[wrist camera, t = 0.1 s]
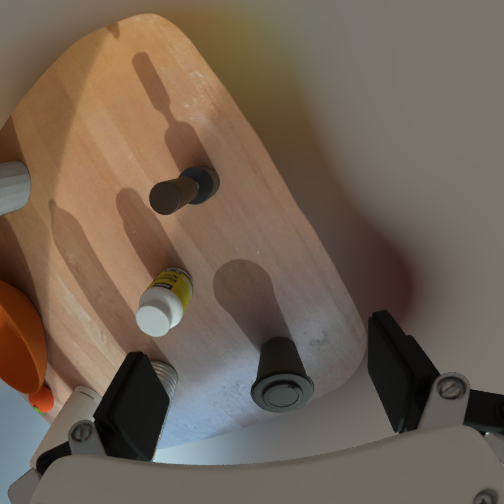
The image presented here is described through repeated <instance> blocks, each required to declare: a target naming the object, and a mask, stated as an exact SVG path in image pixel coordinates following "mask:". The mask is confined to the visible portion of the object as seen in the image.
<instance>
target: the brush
mask: <svg viewBox="0 0 504 504" xmlns="http://www.w3.org/2000/svg"><path fill="white" fill-rule="evenodd" d="M219 185H220V180H219V176H218V174H217V173H216V171H215V170H213V169H212V168H210V167H207V166H198V167H191V168H188V169H186V170H184V171H183V172H182V173H181V174H180V176H179V177H178V178H176V179H171V180H167V181H163V182H160V183H157V184H156V185H155V186H154V187H153V188H152V190H151V192H150V195H149V201H150V204H151V207H152V208H153V209H154V211H156V212H157V213H159V214H161V215H169V214H172V213H174V212H175V211H177V210H178V209H180V208H181V207H183V206H185V205H186V204H188V203H189V204H193V205H197V204H201V203H204V202H205V201H207V200H208V199H209V198H210V197H212V196H213V195H214V194H215V193H216V192H217V190H218V188H219Z"/></svg>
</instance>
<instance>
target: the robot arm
mask: <svg viewBox="0 0 504 504" xmlns="http://www.w3.org/2000/svg"><path fill="white" fill-rule="evenodd" d="M368 372H369V375H370V377H371V379H372V381H373V384H374V386H375V388H376V390H377V393H378V395H379V397H380V400H381V402H382V404H383V407H384V409H385V411H386V414H387V415H388V418H389V421H390V423H391V425H392V428H393V430H394V432H395V433H396V432H399V434H398V435H395V436H391V437H388V438H384V439H381V440H378V441H374V442H371V443H367V444H363V445H360V446H356V447H352V448H347V449H344V450H339V451H335V452H330V453H326V454H320V455H315V456H309V457H303V458H297V459H291V460H283V461H275V462H265V463H253V464H239V465H184V464H166V463H155V462H149V461H151V460H152V458H153V455H154V452H155V449H156V445H157V442H158V439H159V435H160V432H161V429H162V426H163V423H164V420H165V416H166V413H167V410H168V407H169V404H170V398H169V395H168V394H167V392H166V390H165V388H164V387H163V385H162V383H161V381H160V379H159V377H158V376H157V374H156V372H155V370H154V368H153V366H152V364H151V362H150V360H149V358H148V357H147V355H145V354H143V352H129V353H128V354H127V356H126V358H125V360H124V361H123V363H122V365H121V366H120V368H119V370H118V371H117V373H116V375H115V377H114V378H113V380H112V382H111V384H110V385H109V387H108V389H107V391H106V392H105V394H104V396H103V398H102V400H101V401H100V403H99V405H98V407H97V409H96V410H95V412H94V414H93V418H94V419H95V420H94V422H92V421H90V420H81V421H78V422H76V423H75V424H74V425H73V426H72V427H71V428H70V430H69V432H68V441H66V442H64V443H62V444H60V445H58V446H56V447H54V448H52V449H50V450H48V451H46V452H44V453H42V454H41V455H40V456H39V457H38V459H37V461H36V469H35V468H34V467H33V468H31V469H30V470H29V471H28V472H26V473H25V474H24V475H23V476H21V477H20V478H19V479H18V480H17V481H15V482H14V483H13V484H12V485H11V486H10V487H9V489H8V497H9V499H10V501H11V503H12V504H504V468H503V466H502V464H501V462H502V463H503V464H504V395H501V394H495V393H489V392H483V391H478V390H472V389H470V384H469V381H468V380H467V378H466V377H465V376H463V375H461V374H459V373H455V372H449V373H444V374H442V375H440V373H439V372H438V370H437V369H436V367H435V366H434V365H433V363H432V362H431V361H430V359H429V358H428V356H427V355H426V354H425V352H424V351H423V350H422V348H421V347H420V346H419V344H418V343H417V341H416V340H415V339H414V338H413V337H412V336H411V335H407V336H406V335H405V333H404V332H403V330H402V329H401V328H400V326H399V325H398V324H397V323H396V321H395V320H394V318H393V317H392V316H391V315H390V314H389V312H388V311H387V310H382V311H378V312H374V313H373V314H372V317H370V318H369V320H368ZM475 496H476V497H475Z"/></svg>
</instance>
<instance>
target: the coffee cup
mask: <svg viewBox="0 0 504 504" xmlns="http://www.w3.org/2000/svg"><path fill="white" fill-rule="evenodd" d="M313 392H314V383H313V382H312V380H311V379H310V377H308V376H307V374H306V372H305V369H304V367H303V364H302V361H301V359H300V356H299V354H298V351H297V348H296V346H295V344H294V343H293V342H292V341H291V340H290V339H287V338H284V337H276V338H272V339H270V340H268V341H267V342H265V343H264V344H263V346H262V348H261V354H260V360H259V366H258V372H257V378H256V381H255V382H254V384H253V385H252V387H251V397H252V399H253V401H254V402H255V403H256V404H257V405H258V406H259V407H261V408H262V409H264V410H267V411H270V412H289V411H293V410H296V409H298V408H300V407H302V406H303V405H305V404H306V403H307V402H308V401H309V400H310V398H311V397H312V394H313Z"/></svg>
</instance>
